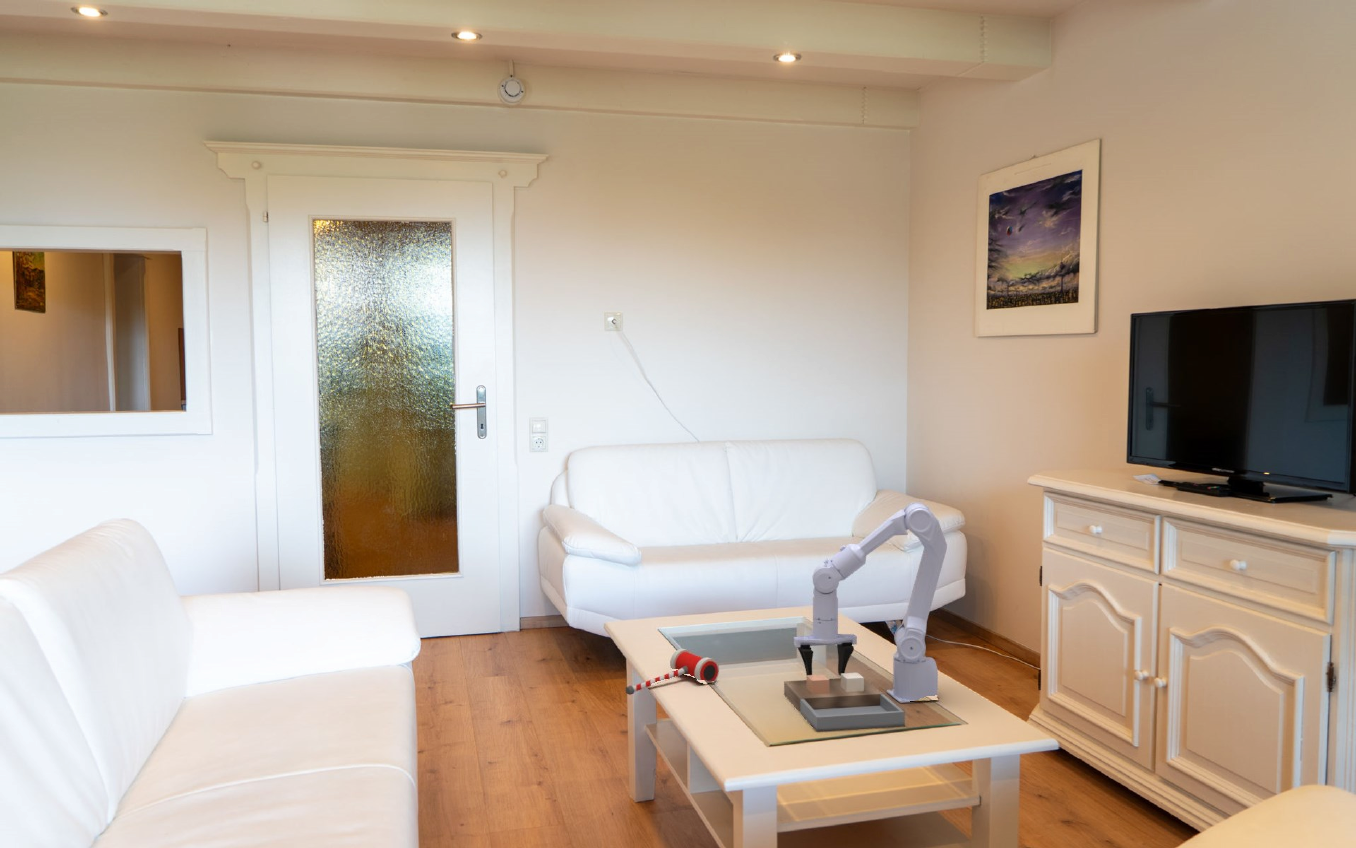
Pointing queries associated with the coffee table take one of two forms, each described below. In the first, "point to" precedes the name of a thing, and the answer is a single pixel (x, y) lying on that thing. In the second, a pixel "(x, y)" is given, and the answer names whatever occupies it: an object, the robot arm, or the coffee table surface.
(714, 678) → the toy hammer
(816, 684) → the terracotta pink block
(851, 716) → the box
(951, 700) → the coffee table surface
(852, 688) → the tile cream
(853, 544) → the robot arm
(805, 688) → the dark wooden platform
